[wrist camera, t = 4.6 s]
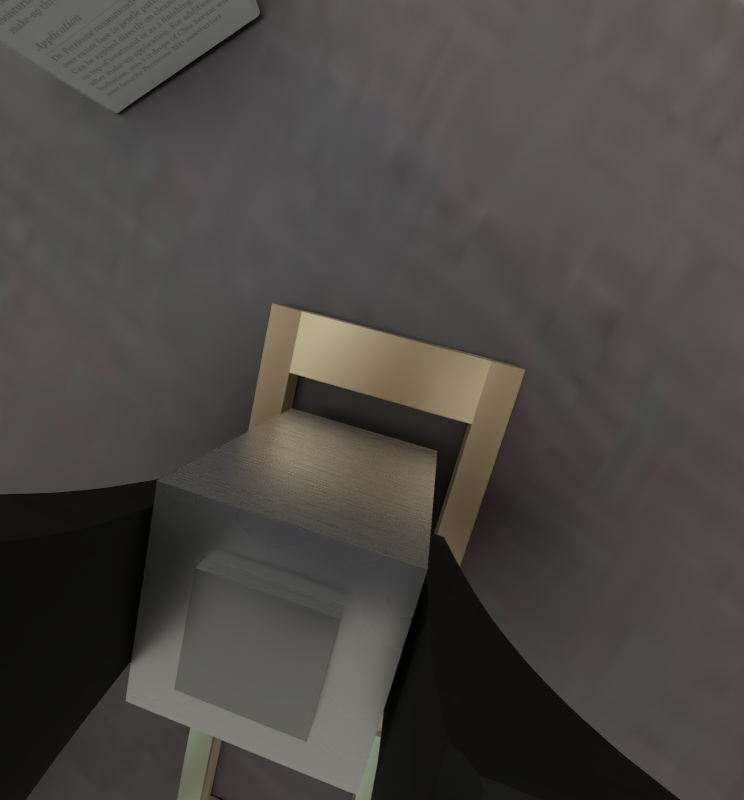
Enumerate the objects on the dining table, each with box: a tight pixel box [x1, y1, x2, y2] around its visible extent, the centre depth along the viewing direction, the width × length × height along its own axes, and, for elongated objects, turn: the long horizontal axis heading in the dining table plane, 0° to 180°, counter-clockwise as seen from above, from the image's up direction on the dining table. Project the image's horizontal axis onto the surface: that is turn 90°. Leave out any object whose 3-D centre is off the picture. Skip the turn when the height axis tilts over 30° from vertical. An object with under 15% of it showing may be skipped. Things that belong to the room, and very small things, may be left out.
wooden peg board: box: [177, 304, 525, 800], centre depth 16 cm, size 8×24×1 cm, turn 166°
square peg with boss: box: [126, 408, 437, 795], centre depth 10 cm, size 4×4×6 cm
